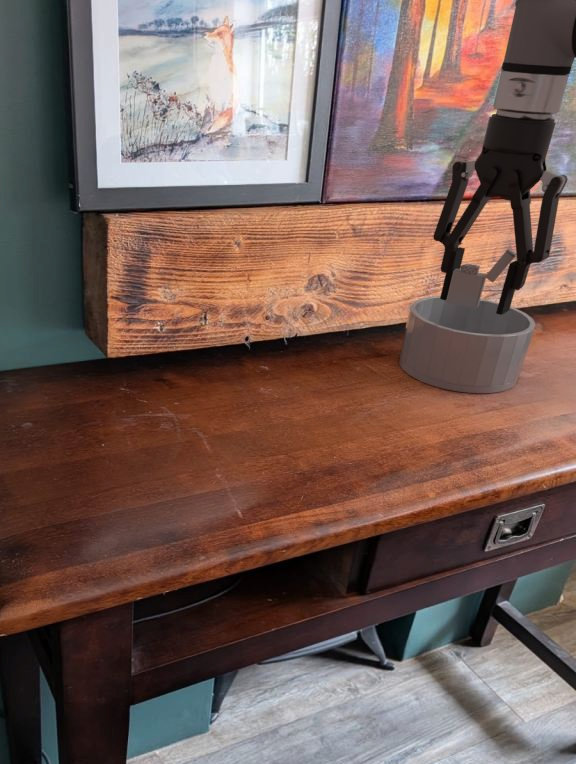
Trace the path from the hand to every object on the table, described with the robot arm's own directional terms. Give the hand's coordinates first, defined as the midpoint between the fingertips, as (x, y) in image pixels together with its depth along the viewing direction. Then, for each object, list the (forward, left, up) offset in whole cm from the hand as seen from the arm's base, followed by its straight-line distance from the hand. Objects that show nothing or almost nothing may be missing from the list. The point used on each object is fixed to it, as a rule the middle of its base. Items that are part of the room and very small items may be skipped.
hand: (474, 304), depth 101 cm
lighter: (0, 0, 0) cm, 1 cm away
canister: (0, 0, -9) cm, 9 cm away
